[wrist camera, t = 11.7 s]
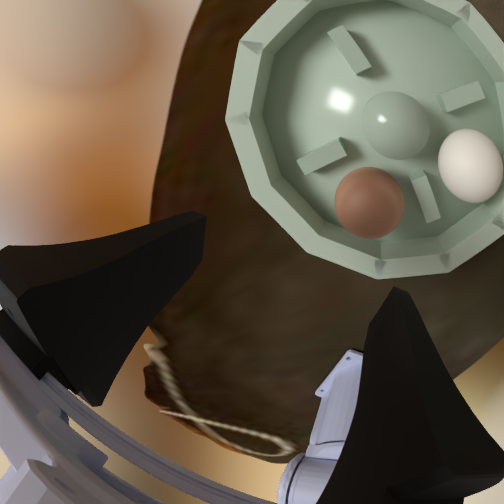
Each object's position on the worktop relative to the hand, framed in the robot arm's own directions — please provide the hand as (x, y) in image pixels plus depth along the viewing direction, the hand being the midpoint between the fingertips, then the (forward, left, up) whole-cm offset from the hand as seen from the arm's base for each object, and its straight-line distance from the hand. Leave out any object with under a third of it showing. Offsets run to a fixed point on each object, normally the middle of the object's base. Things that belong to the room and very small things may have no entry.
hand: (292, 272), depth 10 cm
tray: (+6, -3, -10) cm, 12 cm away
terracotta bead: (+1, -3, -9) cm, 9 cm away
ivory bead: (+6, -7, -9) cm, 13 cm away
